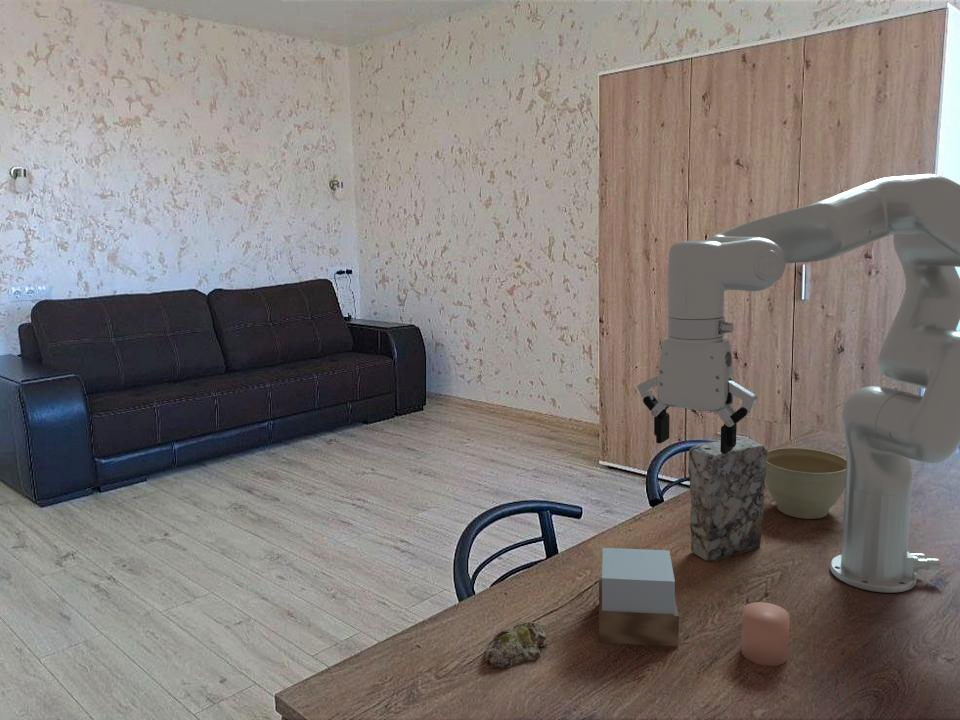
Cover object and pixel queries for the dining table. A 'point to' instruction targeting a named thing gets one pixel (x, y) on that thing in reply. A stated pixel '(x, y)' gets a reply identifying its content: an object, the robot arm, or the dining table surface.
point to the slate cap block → (637, 581)
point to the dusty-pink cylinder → (765, 633)
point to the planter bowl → (805, 481)
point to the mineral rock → (516, 645)
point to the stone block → (726, 498)
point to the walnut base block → (637, 626)
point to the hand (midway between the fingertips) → (693, 446)
